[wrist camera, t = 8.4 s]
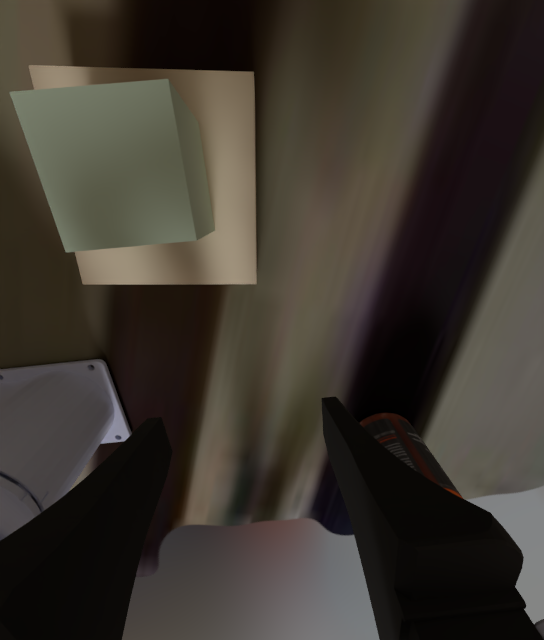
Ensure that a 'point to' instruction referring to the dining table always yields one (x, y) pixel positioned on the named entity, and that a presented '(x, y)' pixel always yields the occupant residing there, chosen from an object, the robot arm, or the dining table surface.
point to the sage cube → (118, 163)
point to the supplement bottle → (407, 446)
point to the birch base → (222, 176)
